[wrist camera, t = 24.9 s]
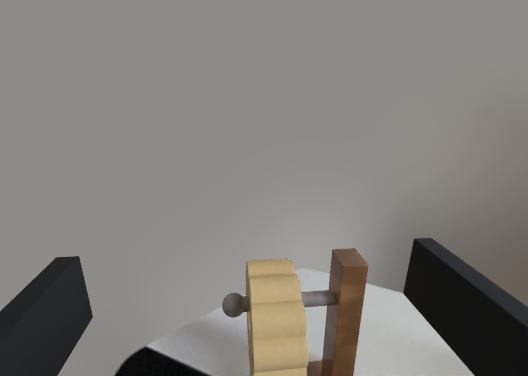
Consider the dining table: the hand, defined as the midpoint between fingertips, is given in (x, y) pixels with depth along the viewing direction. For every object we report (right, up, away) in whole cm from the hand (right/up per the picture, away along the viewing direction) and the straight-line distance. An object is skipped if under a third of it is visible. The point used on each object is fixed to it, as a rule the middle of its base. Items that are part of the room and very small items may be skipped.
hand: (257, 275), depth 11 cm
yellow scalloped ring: (+1, -15, +19) cm, 25 cm away
